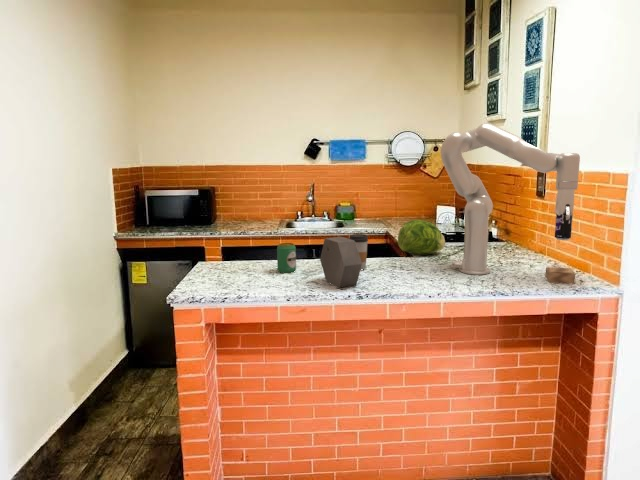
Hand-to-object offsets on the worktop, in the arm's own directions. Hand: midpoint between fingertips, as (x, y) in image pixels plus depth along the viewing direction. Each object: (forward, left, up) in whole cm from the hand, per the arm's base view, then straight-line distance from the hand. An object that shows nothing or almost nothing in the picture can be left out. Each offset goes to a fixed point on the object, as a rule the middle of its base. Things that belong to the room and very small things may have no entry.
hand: (563, 231), depth 190 cm
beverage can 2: (0, 0, -3) cm, 3 cm away
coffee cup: (-81, -1, -20) cm, 83 cm away
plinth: (0, 0, -20) cm, 20 cm away
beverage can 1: (-110, -13, -20) cm, 112 cm away
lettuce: (-57, +39, -20) cm, 72 cm away
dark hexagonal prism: (-83, -26, -20) cm, 89 cm away
